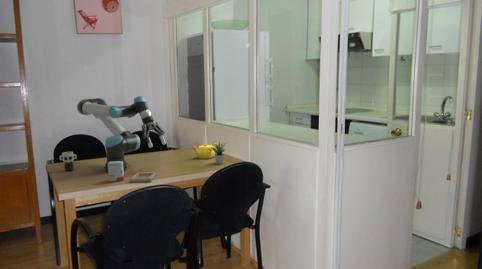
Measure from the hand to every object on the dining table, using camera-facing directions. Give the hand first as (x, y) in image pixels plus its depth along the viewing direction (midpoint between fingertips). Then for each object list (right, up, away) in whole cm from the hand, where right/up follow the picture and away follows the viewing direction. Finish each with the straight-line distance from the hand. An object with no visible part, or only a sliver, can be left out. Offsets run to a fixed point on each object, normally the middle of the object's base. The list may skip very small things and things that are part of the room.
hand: (158, 145), depth 264 cm
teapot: (+30, -11, +37) cm, 49 cm away
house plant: (+42, -13, +17) cm, 47 cm away
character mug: (-64, -18, +7) cm, 67 cm away
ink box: (-21, -21, -23) cm, 38 cm away
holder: (-4, -20, -23) cm, 31 cm away
